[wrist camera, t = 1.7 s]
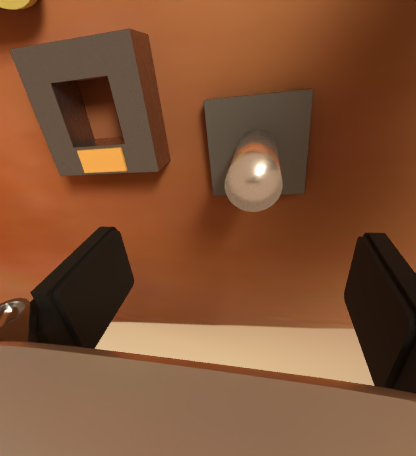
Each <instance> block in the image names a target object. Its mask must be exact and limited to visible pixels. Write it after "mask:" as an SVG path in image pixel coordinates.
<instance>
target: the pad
mask: <svg viewBox="0 0 416 456" xmlns="http://www.w3.org/2000/svg"><path fill="white" fill-rule="evenodd" d="M312 99H313V89H303V90H294V91H284V92H274V93H265V94H255V95H245V96H236V97H226V98H216V99H207V100H205V101H204V109H205V119H206V129H207V139H208V149H209V158H210V168H211V178H212V188H213V196H227V195H226V192H225V179H226V176H227V173H228V170H229V167H230V165H231V162H232V159H233V156H234V154H235V151H236V148H237V146H238V143H239V141H240V139H241V138H242V136H243V135H244V134H246V133H247V132H249V131H252V130H256V129H259V130H264V131H267V132H268V133H270V134H271V135H272V136H273V138H274V139H275V141H276V145H277V151H278V157H279V163H280V170H281V176H282V183H283V186H282V192H281V195H284V194H304V192H305V180H306V169H307V157H308V145H309V134H310V122H311V111H312Z"/></svg>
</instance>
